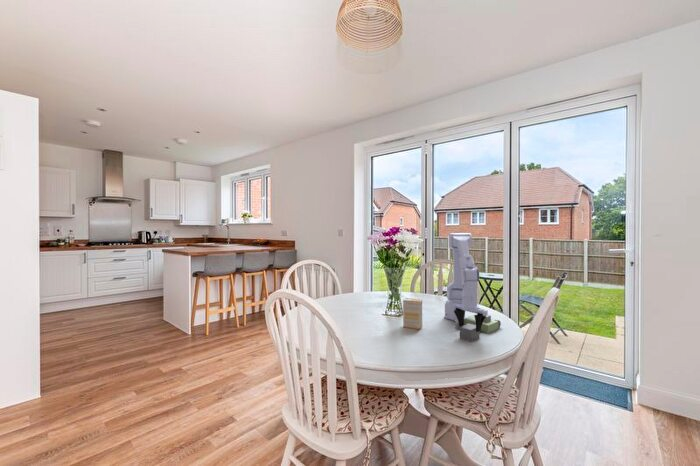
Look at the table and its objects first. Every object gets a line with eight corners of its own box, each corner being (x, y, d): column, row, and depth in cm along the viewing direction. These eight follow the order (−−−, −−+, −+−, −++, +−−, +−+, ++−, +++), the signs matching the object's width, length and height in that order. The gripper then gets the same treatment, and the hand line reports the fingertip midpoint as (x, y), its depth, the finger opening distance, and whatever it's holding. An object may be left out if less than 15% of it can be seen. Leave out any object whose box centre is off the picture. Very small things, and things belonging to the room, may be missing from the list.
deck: (455, 328, 142) (455, 315, 141) (475, 321, 152) (475, 309, 152) (480, 336, 132) (481, 322, 132) (501, 327, 143) (501, 315, 142)
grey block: (459, 338, 130) (459, 326, 130) (468, 334, 134) (468, 323, 134) (470, 342, 126) (470, 330, 126) (479, 338, 130) (479, 326, 130)
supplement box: (422, 326, 144) (422, 299, 144) (420, 330, 140) (420, 301, 140) (405, 324, 148) (405, 297, 148) (402, 327, 144) (402, 299, 143)
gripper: (449, 295, 133) (449, 326, 133) (481, 301, 121) (480, 335, 122) (458, 292, 137) (458, 323, 137) (490, 298, 126) (490, 331, 126)
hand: (469, 328), depth 130 cm, fingers open, 7 cm apart
